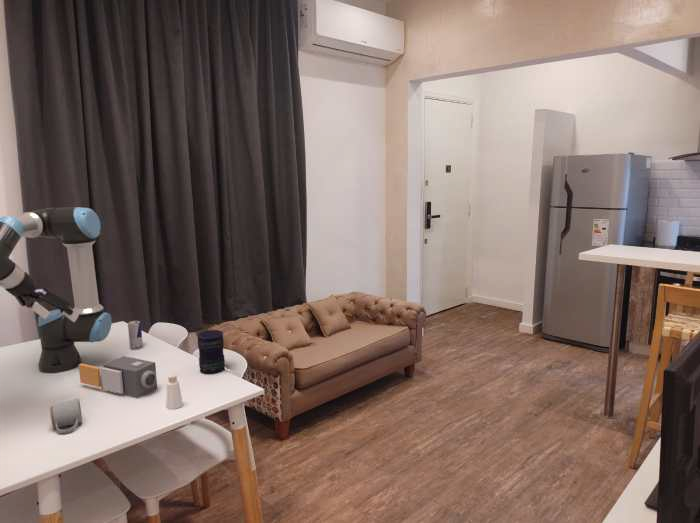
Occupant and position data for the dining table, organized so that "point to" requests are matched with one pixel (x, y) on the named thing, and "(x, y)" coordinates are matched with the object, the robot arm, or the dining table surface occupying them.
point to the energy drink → (135, 335)
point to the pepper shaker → (173, 393)
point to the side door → (101, 377)
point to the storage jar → (211, 352)
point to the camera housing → (135, 375)
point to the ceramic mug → (66, 415)
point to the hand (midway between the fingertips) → (61, 317)
